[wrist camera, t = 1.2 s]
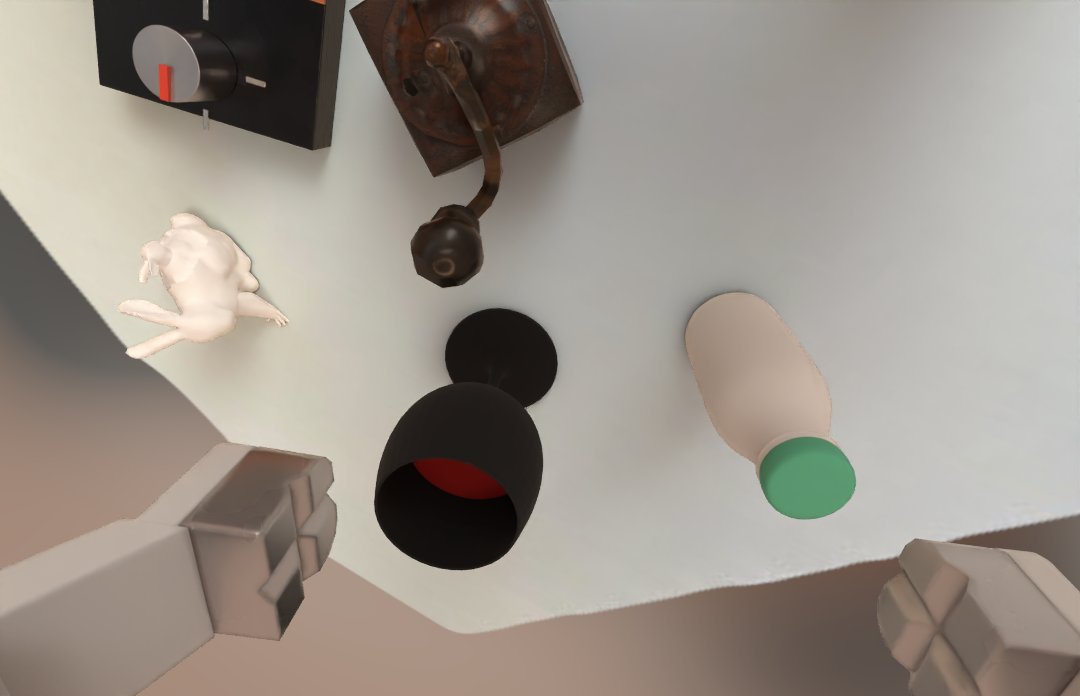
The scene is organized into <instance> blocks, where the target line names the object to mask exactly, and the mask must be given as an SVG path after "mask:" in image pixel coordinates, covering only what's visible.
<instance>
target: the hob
mask: <svg viewBox="0 0 1080 696" xmlns="http://www.w3.org/2000/svg"><path fill="white" fill-rule="evenodd" d="M93 6H94V19H95V31H96V44H97V56H98V69H99V81H100V85H103V86H106V87H109V88H112V89H115V90H119V91H122V92H125V93H128V94H132V95H135V96H138V97H141V98H144V99H148V100H151V101H154V102H157V103H161V104H164V105H167V106H170V107H174V108H177V109H180V110H183V111H186V112H190V113H193V114H196V115H199V116H203V129H206V130H209V119H212V120H216V121H219V122H222V123H225V124H228V125H232V126H235V127H238V128H241V129H245V130H248V131H251V132H254V133H258V134H261V135H264V136H267V137H270V138H274V139H277V140H280V141H283V142H287V143H290V144H293V145H296V146H299V147H303V148H306V149H309V150H312V151H313V150H317V149H321V148H326V147H330V146H331V137H332V127H333V117H334V107H335V98H336V88H337V78H338V68H339V58H340V48H341V38H342V28H343V18H344V8H345V0H326V5H324V4H321V3H317V2H314V1H311V0H93ZM151 25H163V26H171V27H179V28H186V29H194V30H202V31H206V32H209V33H211V34H213V35H214V36H216V37H217V38H219V39H220V40H221V41H222V42H223V43H224V44H225V45H226V47H227V48H228V49H229V51H230V53H231V55H232V57H233V59H234V62H235V65H236V71H237V78H236V84H235V87H234V89H233V91H232V92H231V93H230V94H229V95H228V96H227V97H226V98H224V99H221V100H217V101H197V102H167V101H164V100H161V99H160V97H158V96H157V95H155V94H154V93H153V92H151V91H150V90H149V89H148V88H147V87H146V85H145V84H144V83H143V81H142V80H141V79H140V77H139V75H138V73H137V71H136V68H135V65H134V61H133V44H134V40H135V38H136V36H137V35H138V33H139V32H140V31H141V30H142V29H144V28H145V27H148V26H151Z"/></svg>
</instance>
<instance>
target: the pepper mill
mask: <svg viewBox="0 0 1080 696" xmlns="http://www.w3.org/2000/svg"><path fill="white" fill-rule="evenodd" d="M349 12H350V14H351V16H352V18H353V21H354V23H355V25H356V27H357V29H358V31H359V33H360V35H361V37H362V40H363V42H364V44H365V46H366V48H367V50H368V52H369V54H370V56H371V58H372V60H373V62H374V64H375V66H376V68H377V70H378V72H379V74H380V76H381V78H382V80H383V82H384V84H385V86H386V88H387V90H388V92H389V94H390V96H391V98H392V100H393V102H394V104H395V106H396V108H397V110H398V111H399V113H400V115H401V117H402V119H403V121H404V123H405V125H406V127H407V129H408V131H409V133H410V135H411V137H412V139H413V141H414V143H415V145H416V147H417V149H418V150H419V152H420V154H421V155H422V157H423V159H424V161H425V163H426V164H427V166H428V168H429V170H430V172H431V174H432V176H433V177H434V178H435V177H438V176H441V175H444V174H447V173H450V172H453V171H456V170H459V169H461V168H463V167H465V166H467V165H469V164H471V163H474V162H476V161H478V160H480V159H482V158H483V159H484V166H485V175H484V180H483V186H482V187H481V189H480V191H479V192H478V194H477V196H476V197H475V198H474V199H473V200H472V201H471V202H470V203H469V204H468V205H467V206H466V207H465V206H462V205H455V204H453V205H449V206H444V207H440V209H439V210H438V211H437V213H436V214H435V215H434V217H433V218H432V219H431V221H430V222H427V223H424V224H423V225H421V226H420V227H419V229H418V231H417V232H416V234H415V236H414V237H413V239H412V241H411V253H412V256H413V261H414V267H415V269H416V272H417V274H418V275H420V276H422V277H424V278H425V279H427V280H429V281H431V282H433V283H434V284H436V285H438V286H440V287H442V288H446V287H454V286H460V285H463V284H465V283H466V282H467V281H468V280H470V279H471V278H472V277H473V276H475V275H476V274H477V273H478V272H479V271H480V269H481V267H482V264H483V259H484V254H483V247H482V240H481V236H480V227H479V221H478V219H479V218H480V217H481V216H482V214H483V213H484V212H485V211H486V210H487V209H488V208H489V207H490V206H491V205H492V202H493V200H494V198H495V196H496V194H497V192H498V189H499V185H500V181H501V176H502V172H503V170H502V159H501V149H502V148H504V147H506V146H508V145H510V144H512V143H514V142H517V141H519V140H521V139H523V138H525V137H527V136H529V135H532V134H534V133H536V132H538V131H540V130H542V129H543V128H545V127H546V126H548V125H550V124H551V123H553V122H554V121H556V120H558V119H559V118H561V117H562V116H564V115H565V114H567V113H569V112H570V111H572V110H573V109H575V108H577V107H578V106H580V105H581V104H582V103H583V102H584V101H583V98H582V94H581V90H580V86H579V82H578V78H577V75H576V73H575V71H574V69H573V66H572V63H571V61H570V58H569V55H568V53H567V50H566V47H565V45H564V42H563V40H562V37H561V35H560V32H559V30H558V27H557V25H556V22H555V20H554V17H553V15H552V13H551V10H550V8H549V6H548V3H547V1H546V0H364V1H363V2H361V3H360V4H358V5H357V6H355V7H354V8H352V9H351V10H349Z"/></svg>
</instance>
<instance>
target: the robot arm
mask: <svg viewBox="0 0 1080 696" xmlns="http://www.w3.org/2000/svg"><path fill="white" fill-rule="evenodd" d="M333 481H334V476H333V468H332V462H331V461H330V460H329V459H327V458H326V457H321V456H315V455H309V454H303V453H297V452H291V451H284V450H278V449H272V448H266V447H255V446H250V445H243V444H237V443H231V442H224V443H221V444H218V445H215V446H214V447H213V448H212V449H211V450H210V451H208V452H207V453H206V454H205V455H204V456H203V457H202V458H201V459H200V460H199V461H198V462H197V463H196V464H194V465H193V467H191V468H190V469H189V470H188V471H187V472H186V473H185V474H184V475H183V476H182V477H180V478H179V479H178V480H177V481H176V482H175V483H174V484H173V485H172V486H171V487H170V488H169V489H167V491H165V492H164V493H163V494H162V495H161V496H160V497H159V498H158V499H157V500H156V501H154V502H153V503H152V504H151V505H150V506H149V507H148V508H147V509H146V510H145V511H144V512H143V513H141V514H140V515H139V516H138V517H137V518H136V519H135V520H132V519H125V518H122V519H120V520H118V521H115V522H113V523H110V524H108V525H105V526H103V527H100V528H98V529H96V530H93V531H91V532H89V533H86V534H84V535H81V536H79V537H76V538H74V539H71V540H69V541H67V542H64V543H62V544H60V545H57V546H55V547H52V548H50V549H48V550H45V551H43V552H40V553H38V554H35V555H33V556H30V557H28V558H26V559H23V560H21V561H18V562H16V563H13V564H11V565H9V566H6V567H4V568H1V569H0V696H136V695H137V694H138V693H140V692H141V691H142V690H144V689H145V688H147V687H148V686H149V685H150V684H152V683H153V682H155V681H156V680H157V679H159V678H160V677H161V676H163V675H164V674H165V673H167V672H168V671H169V670H171V669H172V668H174V667H175V666H176V665H177V664H179V663H180V662H182V661H183V660H184V659H186V658H187V657H188V656H190V655H191V654H192V653H194V652H195V651H196V650H198V649H199V648H200V647H202V646H203V645H204V644H206V643H207V642H209V641H210V640H211V639H213V638H214V633H219V634H227V635H235V636H243V637H252V638H259V639H268V640H276V641H280V639H281V637H282V635H283V634H284V632H285V630H286V628H287V627H288V625H289V623H290V622H291V620H292V618H293V616H294V615H295V613H296V611H297V609H298V608H299V606H300V604H301V603H302V601H303V599H304V589H303V581H304V580H306V579H307V578H309V577H311V576H312V575H314V574H316V573H317V572H319V571H320V570H321V568H322V566H323V564H324V562H325V561H326V559H327V557H328V555H329V553H330V550H331V547H332V543H333V540H334V537H335V534H336V525H337V508H336V504H335V503H334V501H333V500H332V499H331V498H330V497H329V495H328V494H327V493H326V492H327V491H328V489H329V488H330V486H331V485H332V483H333ZM898 560H899V563H900V565H901V568H902V570H903V573H901V574H899V575H898V576H896V577H894V578H893V579H891V580H889V581H887V582H886V583H885V585H884V588H883V590H882V592H881V594H880V596H879V599H878V623H879V627H880V631H881V635H882V638H883V640H884V642H885V644H886V645H887V648H888V650H889V652H890V654H891V655H892V656H893V657H894V658H895V659H896V660H897V661H899V662H900V663H901V664H902V665H903V666H904V667H906V668H907V669H908V670H909V671H910V672H911V676H910V681H909V685H908V689H909V690H910V692H911V694H912V696H1080V592H1079V591H1078V590H1077V589H1076V588H1075V587H1074V586H1073V585H1072V584H1071V583H1070V582H1069V581H1068V580H1067V579H1066V578H1065V576H1064V575H1063V574H1062V573H1061V572H1060V571H1059V570H1058V569H1057V568H1056V567H1055V566H1054V565H1053V564H1052V563H1051V562H1050V561H1048V560H1047V559H1045V558H1043V557H1041V556H1039V555H1038V554H1036V553H1033V552H1025V551H1016V550H1008V549H999V548H992V549H990V548H984V547H976V546H969V545H962V544H954V543H946V542H939V541H931V540H924V539H916V538H915V539H914V540H913V541H911V542H910V543H908V544H907V545H905V547H904V549H903V551H902V553H901V554H900V556H899V558H898Z"/></svg>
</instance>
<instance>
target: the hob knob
mask: <svg viewBox="0 0 1080 696" xmlns="http://www.w3.org/2000/svg"><path fill="white" fill-rule="evenodd" d="M133 61H134V65H135V68H136V71H137V73H138V75H139V77H140V79H141V80H142V81H143V83H144V84H145V85H146V87H147V88H148V89H149V90H150V91H151V92H153V93H154V94H155V95H157V96H158V97H160V99H161V100H164V101H167V102H197V101H217V100H221V99H224V98H226V97H227V96H228V95H229V94H230V93H231V92H232V91H233V89H234V87H235V84H236V78H237V71H236V65H235V62H234V59H233V57H232V55H231V53H230V51H229V49H228V48H227V47H226V45H225V44H224V43H223V42H222V41H221V40H220V39H219V38H217V37H216V36H214V35H213V34H211V33H209V32H206V31H202V30H194V29H186V28H179V27H171V26H163V25H151V26H148V27H145V28H144V29H142V30H141V31H140V32H139V33H138V35H137V36H136V38H135V40H134V44H133Z"/></svg>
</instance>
